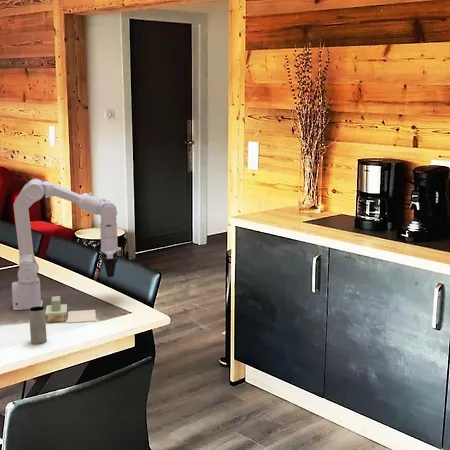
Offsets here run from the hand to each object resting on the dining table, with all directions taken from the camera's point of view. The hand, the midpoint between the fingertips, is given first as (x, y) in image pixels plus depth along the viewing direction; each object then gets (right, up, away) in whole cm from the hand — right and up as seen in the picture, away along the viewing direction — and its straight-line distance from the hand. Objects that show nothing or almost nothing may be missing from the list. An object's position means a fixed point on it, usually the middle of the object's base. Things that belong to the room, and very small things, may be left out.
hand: (110, 273), depth 237 cm
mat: (-7, -13, -14) cm, 21 cm away
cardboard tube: (-15, -18, -36) cm, 43 cm away
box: (-15, -14, -16) cm, 26 cm away
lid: (-15, -11, -16) cm, 25 cm away
